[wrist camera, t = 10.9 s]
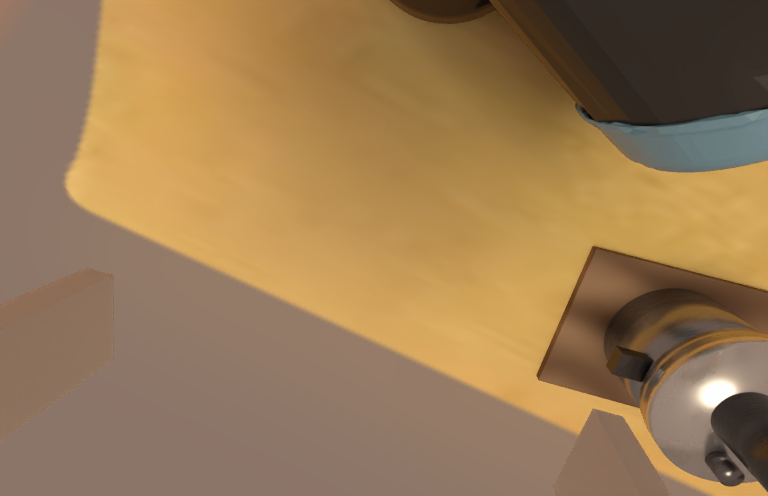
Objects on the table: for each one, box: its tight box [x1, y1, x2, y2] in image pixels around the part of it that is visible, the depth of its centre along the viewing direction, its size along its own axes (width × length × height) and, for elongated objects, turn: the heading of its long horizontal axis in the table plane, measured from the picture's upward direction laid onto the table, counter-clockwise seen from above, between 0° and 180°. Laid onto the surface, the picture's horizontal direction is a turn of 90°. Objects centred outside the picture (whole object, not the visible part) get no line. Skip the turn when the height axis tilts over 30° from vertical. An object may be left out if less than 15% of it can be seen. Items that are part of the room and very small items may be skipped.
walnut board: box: [537, 246, 768, 408], centre depth 39 cm, size 15×19×1 cm
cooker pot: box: [604, 288, 767, 419], centre depth 34 cm, size 16×12×9 cm
